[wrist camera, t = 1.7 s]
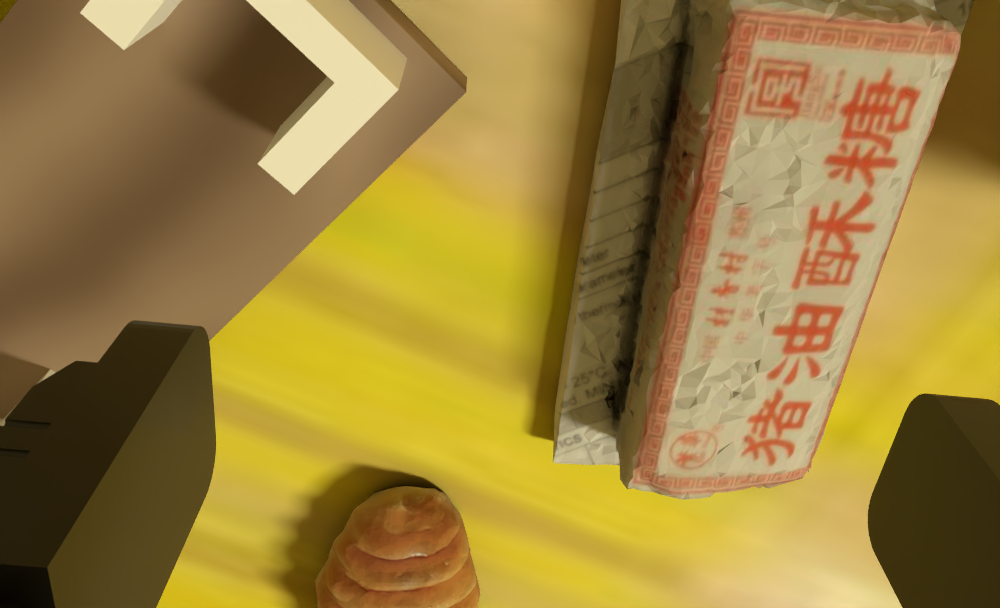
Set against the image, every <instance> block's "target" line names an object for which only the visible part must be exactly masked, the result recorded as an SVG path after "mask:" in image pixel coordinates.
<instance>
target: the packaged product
mask: <svg viewBox="0 0 1000 608" xmlns="http://www.w3.org/2000/svg"><path fill="white" fill-rule="evenodd" d="M973 1H974V0H621V9H620V19H619V29H618V39H617V49H616V59H615V66H614V70H613V75H612V80H611V84H610V89H609V94H608V99H607V103H606V108H605V113H604V117H603V122H602V127H601V132H600V136H599V141H598V146H597V151H596V156H595V166H594V171H593V177H592V183H591V188H590V194H589V199H588V205H587V211H586V216H585V222H584V227H583V232H582V238H581V243H580V248H579V254H578V260H577V266H576V272H575V278H574V285H573V291H572V298H571V306H570V312H569V317H568V323H567V329H566V336H565V343H564V350H563V356H562V363H561V370H560V377H559V384H558V391H557V398H556V405H555V413H554V448H553V463H565V464H585V465H601V464H609V465H620V480H621V481H622V482H623V484H624V485H625V487H626V488H627V489H630V488H634V489H637V490H641V491H649V492H655V493H658V494H661V495H665V496H670V497H674V498H678V499H696V498H704V497H710V496H711V495H713V494H714V493H719V492H730V491H736V490H742V489H746V488H750V487H758V488H761V487H762V486H764V487H766V488H771V487H774V486H778V485H781V484H784V483H788V482H791V481H794V480H798V479H802V478H803V477H804V475H805V473H806V472H807V471H808V472H809V469H810V468H811V462H812V459H813V457H814V455H815V453H816V451H817V448H818V446H819V444H820V442H821V440H822V437H823V435H824V430H825V426H826V424H827V421H828V418H829V415H830V412H831V409H832V407H833V404H834V401H835V398H836V396H837V393H838V391H839V388H840V385H841V383H842V380H843V377H844V374H845V371H846V367H847V365H848V362H849V359H850V356H851V353H852V350H853V348H854V345H855V342H856V340H857V337H858V334H859V331H860V328H861V325H862V323H863V320H864V317H865V315H866V311H867V307H868V304H869V302H870V299H871V296H872V294H873V291H874V288H875V285H876V282H877V279H878V276H879V274H880V271H881V268H882V265H883V262H884V260H885V257H886V254H887V251H888V248H889V245H890V243H891V240H892V238H893V236H894V233H895V230H896V227H897V224H898V222H899V219H900V216H901V213H902V210H903V207H904V204H905V202H906V199H907V196H908V194H909V191H910V188H911V185H912V182H913V179H914V175H915V173H916V171H917V169H918V166H919V163H920V160H921V157H922V154H923V151H924V148H925V145H926V142H927V139H928V137H929V135H930V133H931V130H932V128H933V126H934V124H935V119H936V115H937V111H938V107H939V105H940V103H941V101H942V98H943V96H944V92H945V88H946V85H947V83H948V81H949V79H950V76H951V74H952V72H953V69H954V66H955V64H956V61H957V57H958V54H959V50H960V43H961V35H962V32H963V30H964V27H965V24H966V22H967V19H968V16H969V13H970V10H971V7H972V4H973Z"/></svg>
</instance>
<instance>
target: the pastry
mask: <svg viewBox="0 0 1000 608" xmlns="http://www.w3.org/2000/svg"><path fill="white" fill-rule="evenodd" d="M315 587H316V595H317V598H318V600H317V608H478V602H479V597H480V590H479V585H478V580H477V577H476V573H475V569H474V565H473V561H472V558H471V554H470V547H469V543H468V538H467V534H466V531H465V527H464V524H463V521H462V518H461V515H460V513H459V512H458V511H457V509H456V508H455V507H454V505H453V504H452V502H451V501H450V499H449V498H448V496H447V495H446V494H445V493H442V492H440V491H438V490H436V489H434V488H419V487H411V486H402V487H395V488H390V489H386V490H382V491H379V492H376V493H374V494H372V495H371V496H370V497H369V498H368V499H367V500H365V501H364V502H363V503H361V504H360V505H358V506H357V507H356V508H354V510H353V511H352V513H351V516H350V518H349V520H348V521H347V523H346V525H345V528H344V530H343V531H342V532H341V533H340V534H339V535H338V536H337V537H336V538H335V539H334V541H333V545H332V547H331V549H330V552H329V557H328V559H327V561H326V563H325V564H324V566H323V567H322V569H321V571H320V572H319V573H318V575H317V578H316V580H315Z"/></svg>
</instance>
